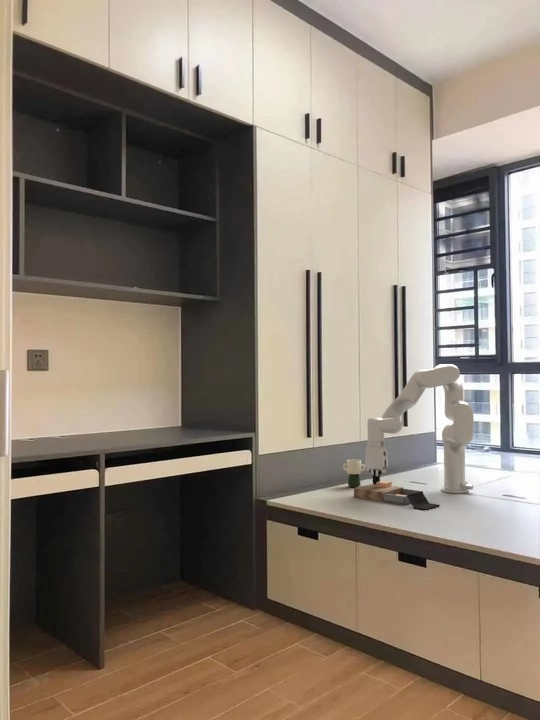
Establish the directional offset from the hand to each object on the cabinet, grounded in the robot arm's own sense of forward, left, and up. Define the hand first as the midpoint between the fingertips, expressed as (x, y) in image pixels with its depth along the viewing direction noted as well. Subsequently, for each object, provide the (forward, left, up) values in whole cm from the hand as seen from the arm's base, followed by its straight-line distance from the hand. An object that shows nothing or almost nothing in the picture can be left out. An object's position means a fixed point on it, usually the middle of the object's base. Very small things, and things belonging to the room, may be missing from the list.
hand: (376, 484), depth 287 cm
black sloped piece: (-30, +10, -5) cm, 32 cm away
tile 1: (-17, +8, -2) cm, 19 cm away
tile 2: (-4, 0, -1) cm, 4 cm away
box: (-17, +4, -5) cm, 18 cm away
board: (-4, +4, -5) cm, 7 cm away
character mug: (+18, -8, -5) cm, 20 cm away
